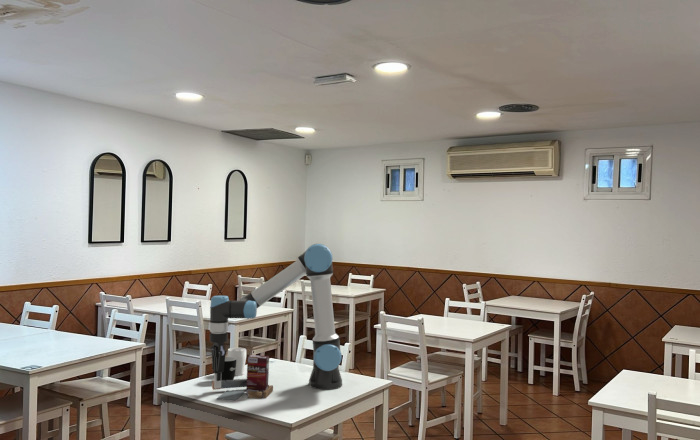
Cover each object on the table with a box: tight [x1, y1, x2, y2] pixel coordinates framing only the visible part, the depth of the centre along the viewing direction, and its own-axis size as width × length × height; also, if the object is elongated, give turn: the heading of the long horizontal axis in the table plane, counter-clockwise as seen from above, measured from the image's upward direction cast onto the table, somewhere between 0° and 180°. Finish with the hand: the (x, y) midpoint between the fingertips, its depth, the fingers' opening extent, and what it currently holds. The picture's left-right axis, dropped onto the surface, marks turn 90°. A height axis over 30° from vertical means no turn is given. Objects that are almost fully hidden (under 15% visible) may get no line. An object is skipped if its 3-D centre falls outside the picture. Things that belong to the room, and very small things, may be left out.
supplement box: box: [245, 354, 270, 396], centre depth 242 cm, size 9×5×16 cm, turn 85°
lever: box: [211, 378, 247, 391], centre depth 246 cm, size 3×19×5 cm, turn 111°
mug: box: [221, 356, 236, 380], centre depth 263 cm, size 12×9×10 cm
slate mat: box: [216, 390, 246, 401], centre depth 238 cm, size 8×12×1 cm, turn 173°
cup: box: [227, 347, 247, 377], centre depth 275 cm, size 9×9×12 cm
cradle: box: [248, 384, 274, 399], centre depth 243 cm, size 12×15×2 cm
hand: (217, 387), depth 241 cm, fingers closed
